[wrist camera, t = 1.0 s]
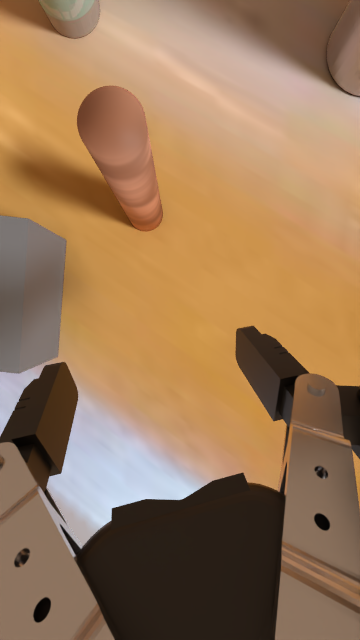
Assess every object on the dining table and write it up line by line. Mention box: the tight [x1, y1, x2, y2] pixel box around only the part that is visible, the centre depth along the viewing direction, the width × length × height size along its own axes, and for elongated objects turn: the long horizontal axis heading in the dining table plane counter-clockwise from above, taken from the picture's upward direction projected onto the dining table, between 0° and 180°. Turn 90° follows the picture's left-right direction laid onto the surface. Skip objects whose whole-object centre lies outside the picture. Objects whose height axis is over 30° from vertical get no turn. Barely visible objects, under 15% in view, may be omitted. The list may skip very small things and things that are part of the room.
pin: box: [77, 86, 163, 231], centre depth 21 cm, size 4×4×14 cm
